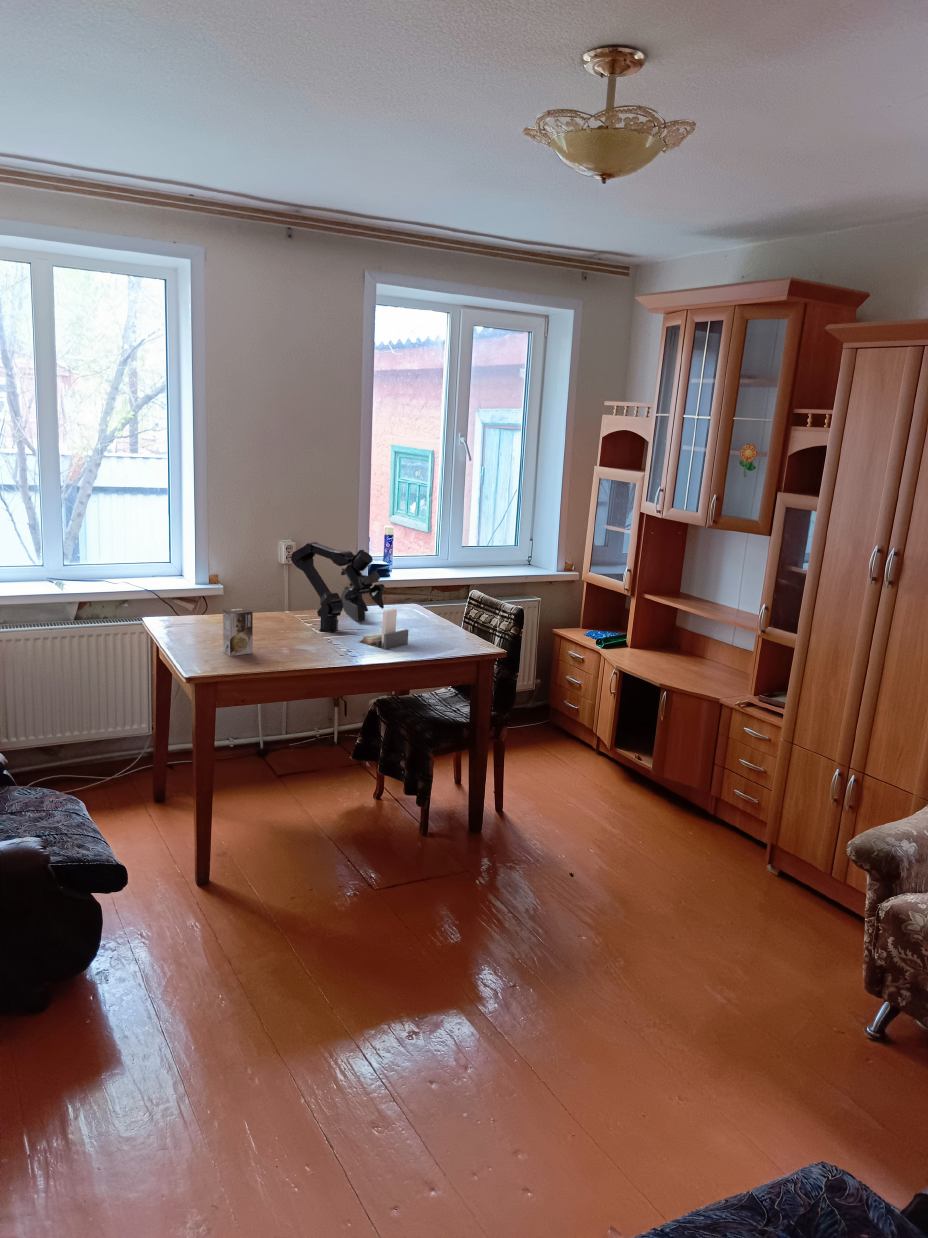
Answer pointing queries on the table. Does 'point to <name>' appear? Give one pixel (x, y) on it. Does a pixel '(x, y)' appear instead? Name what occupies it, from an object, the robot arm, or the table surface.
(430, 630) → the table surface
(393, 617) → the tall sheet
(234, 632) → the coffee box
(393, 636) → the rack
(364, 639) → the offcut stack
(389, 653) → the table surface
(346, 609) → the magazine
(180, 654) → the table surface
